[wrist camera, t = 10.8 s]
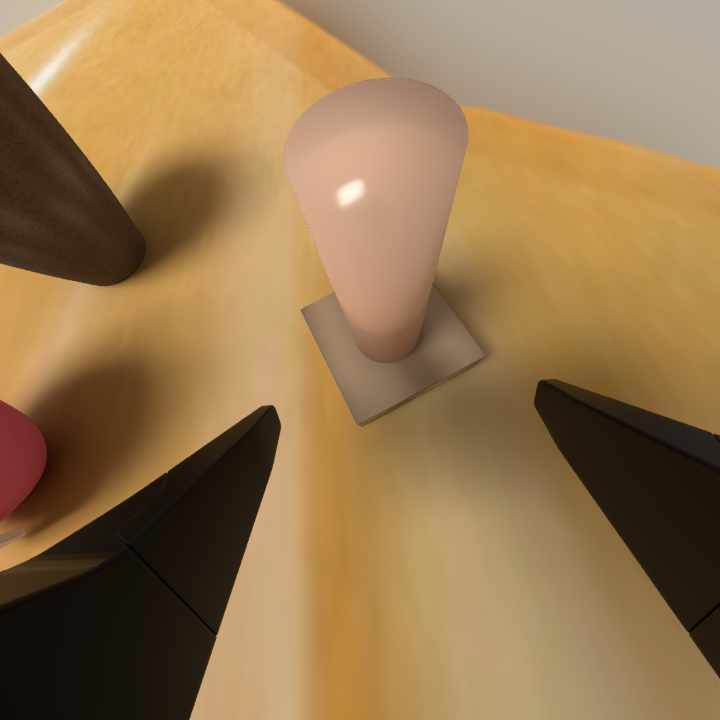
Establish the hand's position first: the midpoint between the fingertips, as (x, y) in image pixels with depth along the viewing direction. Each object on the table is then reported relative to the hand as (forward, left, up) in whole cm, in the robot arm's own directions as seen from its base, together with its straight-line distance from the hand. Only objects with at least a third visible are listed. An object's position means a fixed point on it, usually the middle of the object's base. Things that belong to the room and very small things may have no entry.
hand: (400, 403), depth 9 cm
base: (+2, +6, -12) cm, 13 cm away
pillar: (+2, +6, -9) cm, 11 cm away
